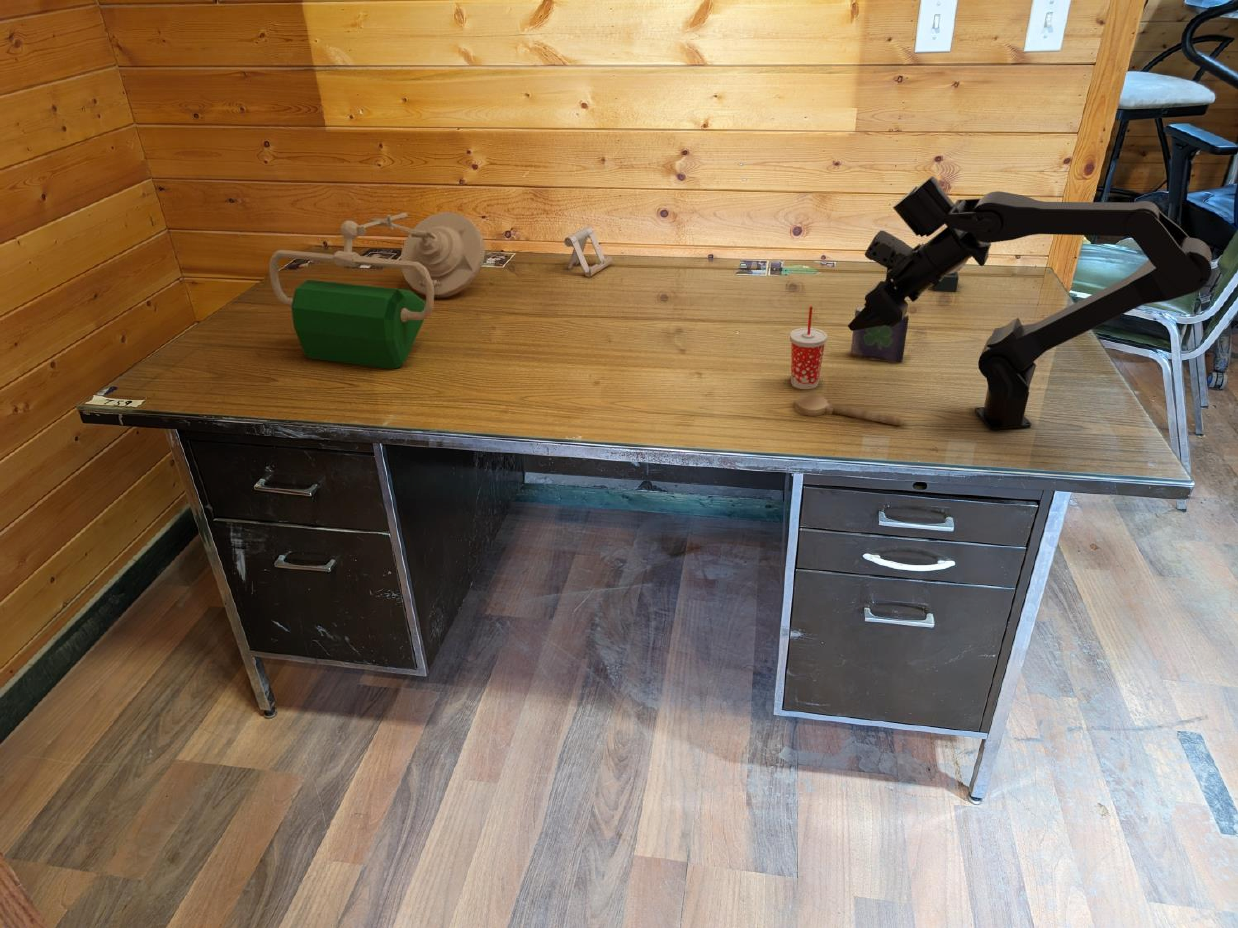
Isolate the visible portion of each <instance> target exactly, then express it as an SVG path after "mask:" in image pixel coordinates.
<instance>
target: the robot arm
mask: <svg viewBox="0 0 1238 928" xmlns="http://www.w3.org/2000/svg"><path fill="white" fill-rule="evenodd" d="M892 209H893V210H894V212H896V213H897V215H898V216H899V217H900V218H901V219H902V221H903V222H904V223H905V224H906V225H907V226H908V228H909V229H910V231H912V232H913V234H914V235H915V236H916V237H918V236H920V237H921V238H923V237H924V236H926V237H927V238H928V237H930V236H931V235H933V234H935V233H936V232H937V231H938V230H939V229H941V228H942V227H943V226H944V225H945V226H946V227H945V228H943V229H942V230H941V231H939V232H938V233H937V234H936V235H934V236H933V237H932V238H931V239H929V240H928V241H926V242H925V243H918V244H917V245H915V246H914V247H912V246H910V245H909V244H907V243H906V242H905V241H903V240H902V239H899V238H898V237H896V236H894V235H893V234H891V233H889V232H887V231H885V230H879V231H878V232H877V233H876V234H875V235H874V237H873V239H872V240H871V242H870V244H869V245H868V247H867V249H866V250H865V252H864V256H865V258H867V259H868V260H869V261H874V262H875V263H876V264H879V265H880V266H882V267H884V268H886V274H885V279H884V280H879V282H877V283H876V284H874V286H872V287H871V288H870V289H869V290H868V291H867V292H866V294H865V296H864V301H865V302H864V304H863V307H864V308H863V309H862V310H861V311H860V313H859V314H858V315H857V316H856V317H855V316H854V318H853V319H852V320H851V321H850V322H849V323H848V324H847V328H848V329H849V330H850V331H851V332H853V331H855V330H860V329H866V328H871V327H878V326H885V325H886V326H891V327H893V326H894V325H896V324H897V323H899V322H900V321H901V320H902V319H903V318H904V316H905V315H906V313H907V314H908V310H909V303H908V302H907V301H906V298H908V299H909V300H910V301H911V302H912V303H914V302H916V301H917V300H918V299H919V298H920V296H921V295H922V294H923V293H924V292H925V291H927V290H928V289H929V288H930V287H932V286H933V285H934V286H936V285H937V284H939V283H940V282H941V280H942V279H943V277H945V276H946V275H947V274H949V273H950V272H952V271H953V270H954V269H956V268H957V267H958V266H960V265H961V264H963V263H964V262H965V261H967V260H968V261H969V259H971V258H973V259H974V261H975V262H976V263H977V264H978V265H979V266H980V267H983V266H985V264H986V262H987V261H988V259H989V252H990V248H991V246H992V243H1000V242H1007V241H1009V242H1010V241H1013V240H1018V239H1021V238H1025V237H1028V236H1036V235H1057V236H1059V235H1060V236H1096V237H1100V236H1101V237H1129V238H1131V239H1132V240H1133V241H1134V242H1135V243H1136V244H1137V245H1138V247H1139V248H1140V250H1141V251H1142V252H1143V254H1145V256H1146V258H1147V259H1148V260H1146V261H1145V262H1144V263H1143V264H1142V265H1141V266H1139V267H1138V268H1137V269H1136V270H1135V271H1134V272H1133V273H1131V274H1130V275H1128V276H1126V277H1124V278H1122V279H1121V280H1118V281H1117V282H1114V283H1112V284H1111V285H1107V286H1106V287H1104V288H1102V289H1100V290H1098V291H1097V292H1094V293H1093V294H1091V295H1089V296H1087V297H1085V298H1082V299H1081V300H1079V301H1077V302H1075V303H1073V304H1071V305H1068V306H1067V307H1065V308H1063V309H1061V310H1059V311H1057V312H1054V313H1053V314H1051V315H1049V316H1047V317H1045V318H1043V319H1041V320H1039V321H1038V322H1034V323H1029V324H1022V322H1021V320H1020V318H1019V317H1016V318H1015V319H1012V320H1011V321H1010V322H1009V323H1007V324H1006V325H1004V326H1001V327H995V328H994V329H993V330H992V334H991V335H990V336H989V337H988V338H987V341H986V342H985V344H984V345H983V348H982V351H981V353H980V356H979V358H978V362H977V366H978V370H979V372H980V374H981V375H982V376H983V377H984V378H986V382H987V390H986V394H985V400H984V406H977V407H974V413H975V414H976V415H977V416H978V418H980V419H981V421H982V422H983V423H984V424H985V425H986V426H987V427H988V428H989V430H991V431H999V430H1000V431H1001V430H1010V429H1012V430H1013V429H1022V428H1023V429H1024V428H1031V426H1032V422H1031V421H1030V420H1029V419H1028V418H1027V417H1026V416H1025V413H1026V408H1027V404H1028V400H1029V396H1030V388H1031V383H1032V380H1033V377H1034V374H1035V371H1036V367H1037V364H1036V363H1035V362H1036V361H1037V360H1038V359H1039V358H1040V357H1041V356H1043V354H1045V353H1046V352H1047V351H1050V350H1051V349H1053V348H1056V347H1058V346H1060V345H1062V344H1064V343H1067V342H1069V341H1071V340H1073V339H1075V338H1076V337H1078V336H1080V335H1082V334H1084V333H1087V332H1089V331H1091V330H1093V329H1095V328H1098V327H1099V326H1102V325H1103V324H1106V323H1107V322H1109V321H1112V320H1115V319H1116V318H1118V317H1121V316H1123V315H1124V314H1127V313H1129V312H1131V311H1133V310H1135V309H1137V308H1139V307H1141V306H1143V305H1148V304H1155V303H1162V302H1169V301H1172V300H1176V299H1178V298H1182V297H1185V296H1188V295H1193V294H1194V293H1197V292H1199V291H1201V289H1203V288H1205V286H1206V285H1207V284H1208V282H1209V281H1210V278H1211V276H1212V252H1211V248H1210V246H1209V245H1208V244H1207V243H1206V242H1204V241H1203V240H1201V239H1199V238H1195V237H1190V236H1189V235H1188V234H1187V232H1185V231H1184V230H1183V229H1182V228H1181V226H1179V225H1178V224H1177V223H1175V222H1174V221H1173V220H1171V219H1170V218H1169V217H1167V216H1166V215H1165V214H1164V213H1163V212H1162V211H1161V210H1160V208H1159V207H1158V206H1157V205H1156V204H1155V203H1153V202H1152V201H1149V200H1148V201H1147V200H1140V201H1135V202H1121V201H1120V202H1118V201H1117V202H1112V201H1109V202H1108V201H1106V202H1105V201H1103V202H1102V201H1101V202H1100V201H1043V200H1038V199H1034V198H1031V197H1029V196H1025V195H1023V194H1017V193H1011V192H1008V191H1007V192H1006V191H1000V190H999V191H998V190H997V191H996V190H995V191H991V192H987V193H986V194H985V195H983V196H982V197H979V198H963V199H957V200H956V201H955V202H954V201H953V200H952V199H951V198H950V197H949V196H948V194H947V193H946V191H944V190H943V188H942V187H941V185H940V182H939V181H938V180H937V179H936V178H935V176H930V177H928V178H927V179H926V180H924V181H923V182H922V183H920V184H919V185H918V186H915V187H913V188H912V189H911V190H910V191H908V192H907V193H906V194H905V195H904V196H902V197H901V199H899V200H898V201H897V202H896V203H895V204H894V205H893V206H892ZM968 261H967V262H968Z"/></svg>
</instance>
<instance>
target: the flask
mask: <svg viewBox="0 0 1238 928" xmlns="http://www.w3.org/2000/svg"><path fill="white" fill-rule="evenodd" d="M864 307H865V306H858V307H856V308H855V310H854V318H855V317H856V316H857V315H858V314H859V313H860V311H861V310H862V309H863V308H864ZM909 320H910V319H909V313H908V312H907V313H906V315H905V316H904V318H903V319H902V320H901V321H900V322H899V323H897V324H896V325H894V326H893V327H891V326H886V325H885V326H878V327H871V328H866V329H860V330H855V331H852V337H851V346H850V356H853V357H855V358H858V359H861V358H864V359H868V360H873V361H881V362H887V363H894V364H900V363H902V362H903V359H904V354H905V348H906V340H907V332H908V328H909Z"/></svg>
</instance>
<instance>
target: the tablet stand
mask: <svg viewBox="0 0 1238 928" xmlns="http://www.w3.org/2000/svg"><path fill="white" fill-rule="evenodd" d="M588 239H589V240H590V241H591V244H592V247H593V249H594V251H595V255H596V257H597V259H598V261H599V263H595V264H593V265H592V266H590V267H589V265H588V262H587V260H586V258H585V254H584V251H585V248H586V245H587V242H588ZM563 242H564V245H565V246H566V247H568V248H572V249H573V250H572V253H571V256H570V259H569V262H568V265H567V270H570V269H572V267H573V265H574V263H575V266H577V265H579V264H580V266H581V270H582V271H583V274H584V275H585V277H587V278H590V277H592V276H593V275H595V274H597V273H598V272H601V270H604V269H605V268H607V267H609V266H610V265H611V264H612V263H613V259H612V256H611V255H609V256H607V257H605V256H604V253H603V251H602V248H601V246H600V243H599V241H598V238H597V236H596V233H595V230H594V228H593V227H592V226H590V225H587V226H586V227H583V228H582V229H580V230H578V231H576V232H574V233H572V234H570V235H569V236H566V237H565V238H564V240H563Z"/></svg>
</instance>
